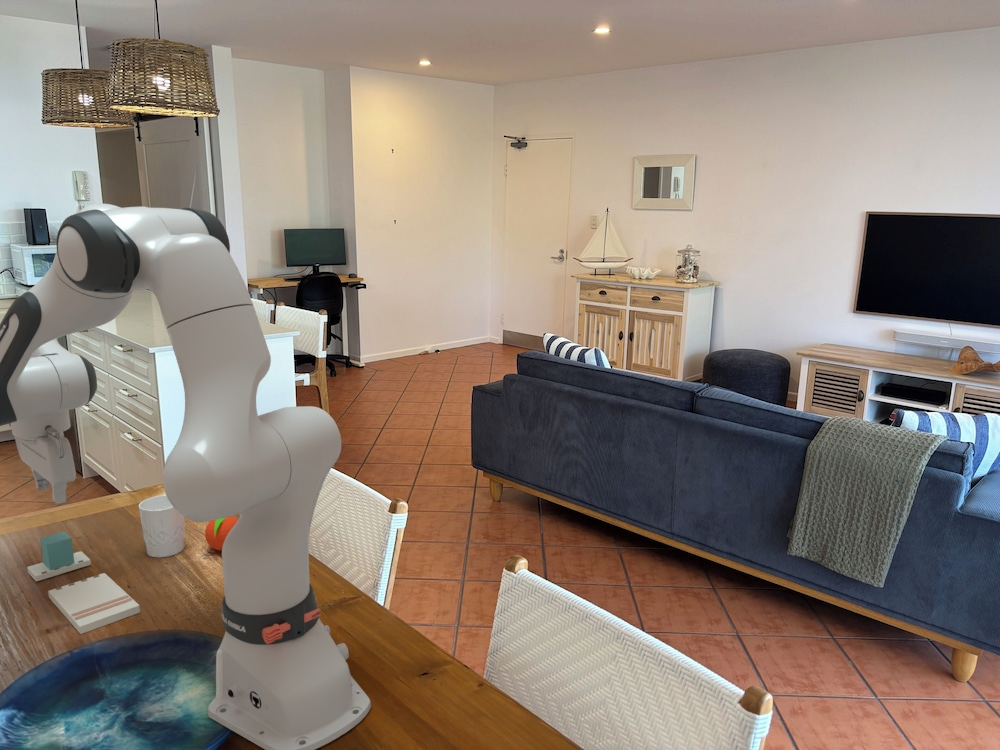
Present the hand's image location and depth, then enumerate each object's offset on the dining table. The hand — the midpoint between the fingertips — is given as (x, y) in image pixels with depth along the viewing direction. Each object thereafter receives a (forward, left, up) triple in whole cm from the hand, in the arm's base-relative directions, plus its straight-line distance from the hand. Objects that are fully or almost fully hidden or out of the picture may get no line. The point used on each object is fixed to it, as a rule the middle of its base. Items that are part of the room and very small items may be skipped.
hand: (51, 495), depth 132 cm
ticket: (-17, 0, -15) cm, 23 cm away
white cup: (-5, -17, -15) cm, 23 cm away
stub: (0, 0, -14) cm, 14 cm away
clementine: (-13, -25, -15) cm, 32 cm away
